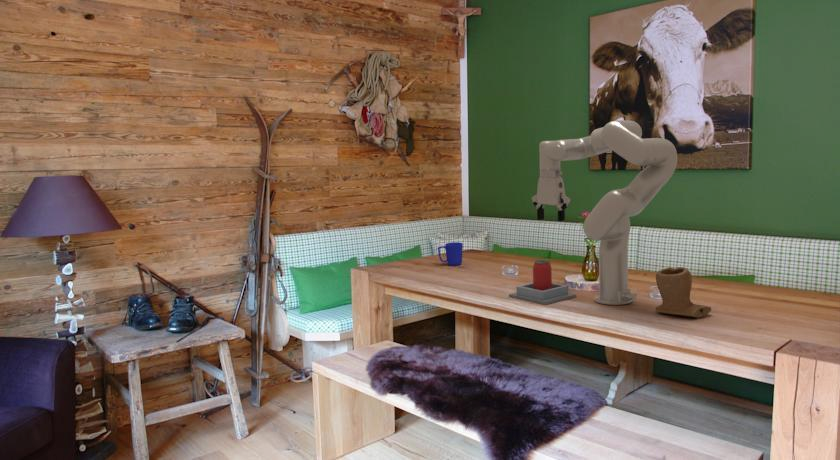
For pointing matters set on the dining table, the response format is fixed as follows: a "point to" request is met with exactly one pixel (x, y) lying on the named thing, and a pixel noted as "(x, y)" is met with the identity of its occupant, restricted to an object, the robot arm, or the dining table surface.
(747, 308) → the dining table surface
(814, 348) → the dining table surface
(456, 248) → the mug
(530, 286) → the box
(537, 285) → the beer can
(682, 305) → the brown l-shaped piece
